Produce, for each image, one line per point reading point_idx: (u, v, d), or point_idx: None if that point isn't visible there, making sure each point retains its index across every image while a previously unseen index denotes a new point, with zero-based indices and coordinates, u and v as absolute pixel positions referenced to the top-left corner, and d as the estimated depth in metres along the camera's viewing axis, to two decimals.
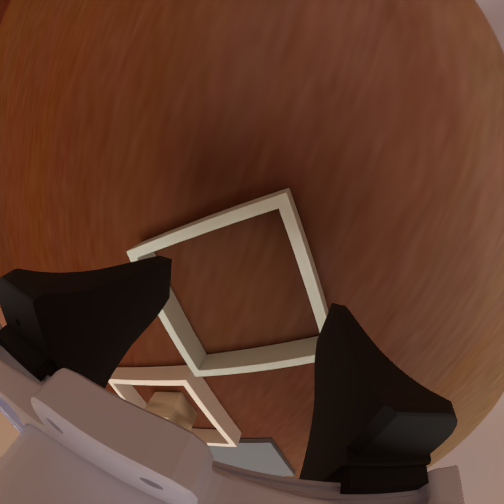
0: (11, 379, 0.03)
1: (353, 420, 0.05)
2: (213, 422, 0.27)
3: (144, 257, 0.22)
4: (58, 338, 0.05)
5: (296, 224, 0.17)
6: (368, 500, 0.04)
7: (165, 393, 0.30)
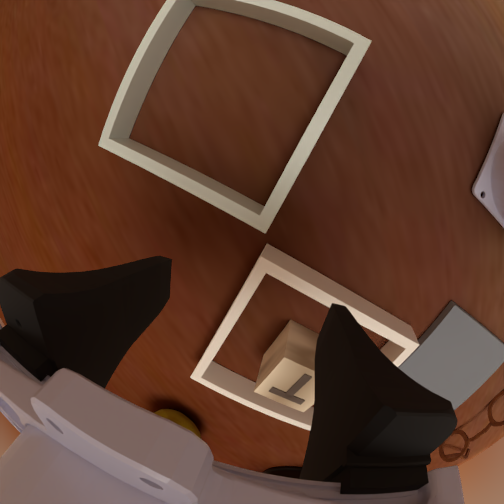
0: (11, 379, 0.03)
1: (353, 420, 0.05)
2: (356, 317, 0.17)
3: (119, 139, 0.17)
4: (58, 338, 0.05)
5: None
6: (368, 500, 0.04)
7: (274, 342, 0.22)
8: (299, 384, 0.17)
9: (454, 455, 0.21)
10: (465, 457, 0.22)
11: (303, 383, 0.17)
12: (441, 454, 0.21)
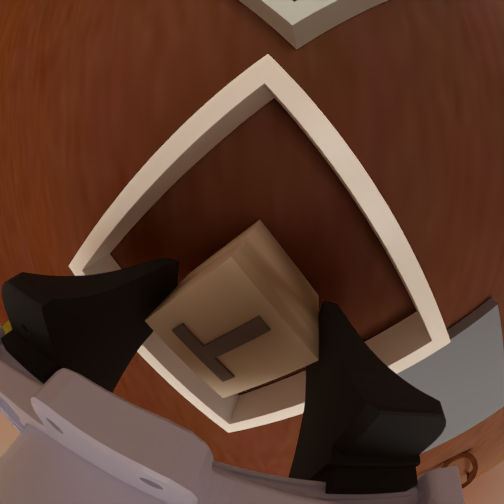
0: (11, 379, 0.03)
1: (339, 418, 0.05)
2: (391, 240, 0.09)
3: None
4: (67, 344, 0.05)
5: None
6: (368, 500, 0.04)
7: (215, 253, 0.12)
8: (237, 337, 0.09)
9: None
10: None
11: (247, 338, 0.09)
12: None
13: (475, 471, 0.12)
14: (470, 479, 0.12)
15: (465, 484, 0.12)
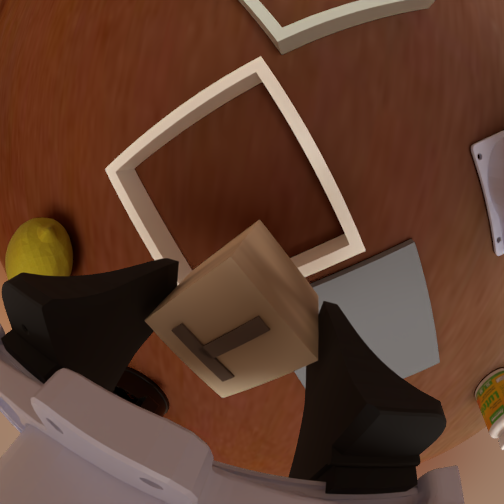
0: (11, 379, 0.03)
1: (339, 418, 0.05)
2: (316, 164, 0.15)
3: None
4: (67, 344, 0.05)
5: None
6: (368, 500, 0.04)
7: (215, 253, 0.12)
8: (237, 337, 0.09)
9: None
10: None
11: (246, 338, 0.09)
12: None
13: None
14: None
15: None
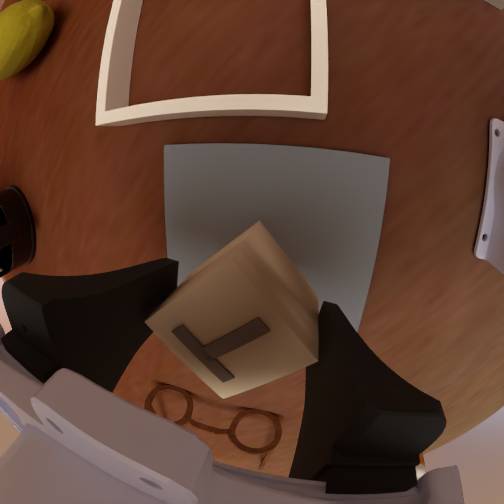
0: (11, 379, 0.03)
1: (339, 418, 0.05)
2: (316, 9, 0.09)
3: None
4: (67, 344, 0.05)
5: None
6: (368, 500, 0.04)
7: (215, 254, 0.12)
8: (237, 338, 0.09)
9: None
10: None
11: (246, 339, 0.09)
12: (148, 399, 0.22)
13: (274, 444, 0.20)
14: (265, 449, 0.19)
15: (257, 450, 0.19)
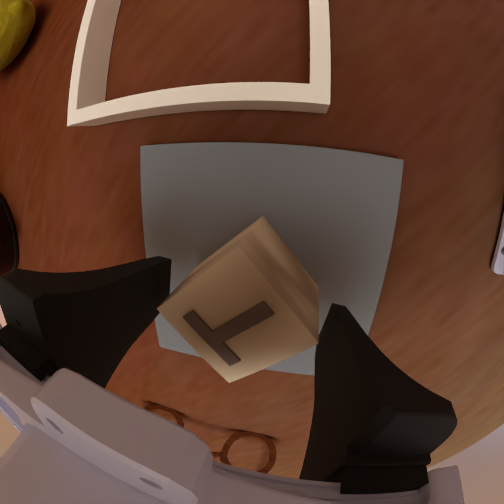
0: (11, 379, 0.03)
1: (353, 420, 0.05)
2: None
3: None
4: (58, 338, 0.05)
5: None
6: (368, 500, 0.04)
7: (222, 247, 0.13)
8: (244, 321, 0.10)
9: None
10: None
11: (252, 322, 0.09)
12: None
13: (268, 468, 0.17)
14: None
15: None
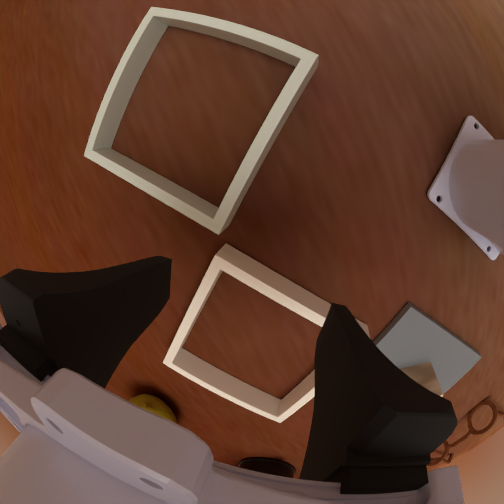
0: (11, 379, 0.03)
1: (353, 420, 0.05)
2: (304, 313, 0.19)
3: (101, 150, 0.19)
4: (58, 338, 0.05)
5: (171, 10, 0.13)
6: (368, 500, 0.04)
7: None
8: None
9: (436, 459, 0.24)
10: (448, 461, 0.24)
11: None
12: None
13: (495, 413, 0.18)
14: (492, 421, 0.18)
15: (489, 425, 0.18)
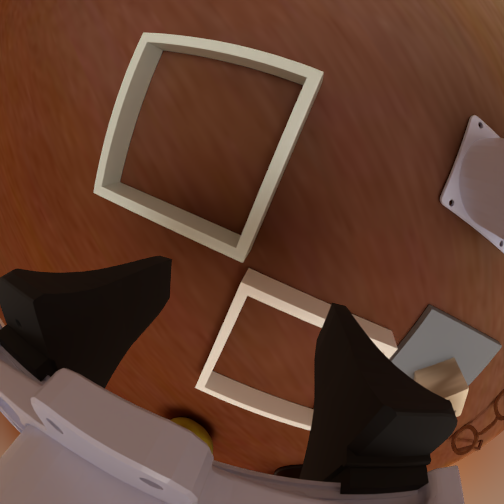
0: (11, 379, 0.03)
1: (353, 420, 0.05)
2: None
3: (111, 186, 0.20)
4: (58, 338, 0.05)
5: (165, 34, 0.14)
6: (368, 500, 0.04)
7: None
8: None
9: (466, 448, 0.22)
10: (478, 448, 0.23)
11: None
12: (453, 448, 0.23)
13: None
14: None
15: None
